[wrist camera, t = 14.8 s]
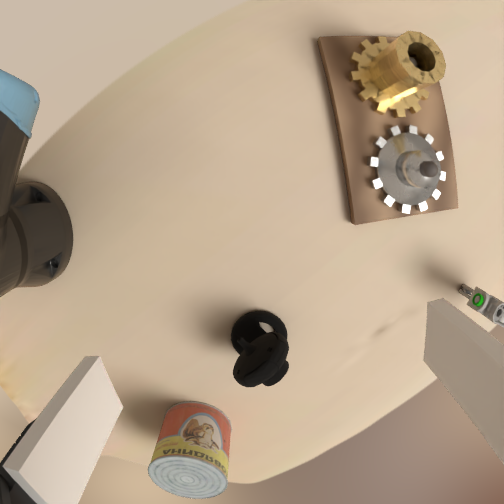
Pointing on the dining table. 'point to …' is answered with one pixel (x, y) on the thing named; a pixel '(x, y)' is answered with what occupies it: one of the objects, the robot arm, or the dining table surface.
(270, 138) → the dining table surface
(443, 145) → the gear board
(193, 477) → the canned food
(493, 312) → the mechanical component
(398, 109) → the brass gear
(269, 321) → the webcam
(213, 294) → the dining table surface
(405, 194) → the steel gear
